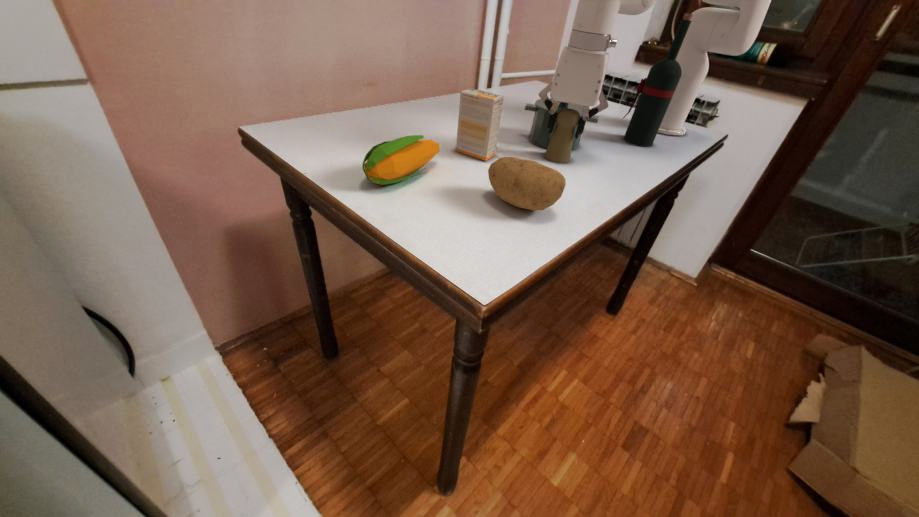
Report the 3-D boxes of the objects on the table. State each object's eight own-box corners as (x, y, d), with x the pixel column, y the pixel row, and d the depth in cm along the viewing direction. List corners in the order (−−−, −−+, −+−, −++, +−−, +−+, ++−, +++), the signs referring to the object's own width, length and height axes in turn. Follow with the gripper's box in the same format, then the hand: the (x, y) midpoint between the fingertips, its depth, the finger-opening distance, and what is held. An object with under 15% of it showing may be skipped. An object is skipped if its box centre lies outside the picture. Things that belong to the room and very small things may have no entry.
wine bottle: (620, 132, 107) (665, 10, 89) (655, 142, 103) (710, 16, 84) (611, 137, 102) (656, 9, 84) (647, 149, 98) (704, 16, 79)
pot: (524, 128, 102) (530, 96, 97) (589, 141, 98) (599, 108, 93) (515, 142, 92) (522, 107, 87) (587, 157, 89) (598, 122, 83)
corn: (349, 142, 62) (425, 119, 75) (351, 182, 66) (421, 154, 80) (381, 159, 59) (453, 131, 72) (380, 199, 64) (448, 166, 77)
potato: (499, 183, 73) (506, 144, 68) (565, 208, 67) (578, 167, 62) (473, 200, 66) (478, 158, 61) (543, 229, 60) (555, 186, 55)
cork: (570, 164, 84) (585, 115, 77) (544, 160, 84) (556, 111, 77) (569, 155, 88) (583, 108, 82) (544, 151, 89) (556, 104, 82)
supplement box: (495, 155, 84) (505, 95, 76) (485, 161, 80) (494, 99, 72) (465, 145, 87) (472, 87, 79) (454, 151, 84) (460, 90, 76)
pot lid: (538, 99, 97) (542, 81, 94) (590, 109, 94) (596, 90, 91) (530, 112, 86) (534, 91, 84) (588, 123, 84) (594, 102, 81)
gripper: (632, 46, 73) (601, 136, 84) (547, 34, 76) (529, 122, 87) (634, 51, 67) (601, 147, 78) (542, 38, 71) (524, 131, 82)
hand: (563, 133), depth 83 cm, fingers closed on cork, 5 cm apart
